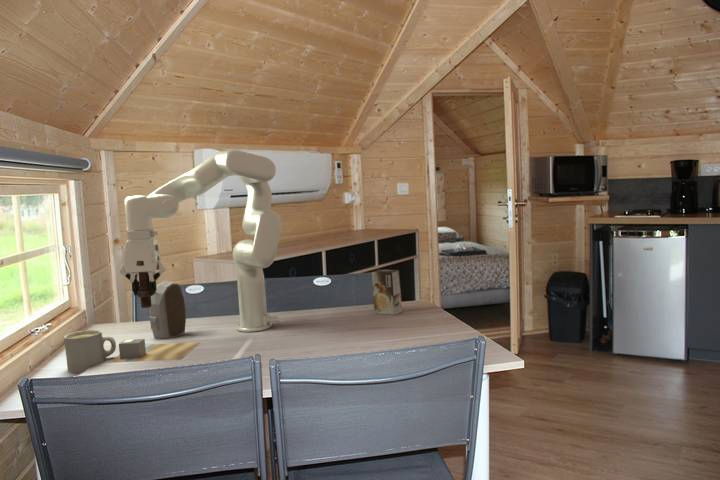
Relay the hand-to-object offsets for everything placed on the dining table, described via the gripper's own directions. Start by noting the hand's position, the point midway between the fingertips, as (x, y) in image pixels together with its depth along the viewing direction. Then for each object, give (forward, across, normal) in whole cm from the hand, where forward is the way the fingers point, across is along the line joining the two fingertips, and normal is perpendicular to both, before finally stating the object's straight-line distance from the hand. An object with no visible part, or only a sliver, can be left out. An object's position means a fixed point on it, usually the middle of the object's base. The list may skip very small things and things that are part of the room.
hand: (144, 293), depth 183 cm
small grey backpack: (+19, 0, -17) cm, 26 cm away
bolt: (+5, 0, 0) cm, 5 cm away
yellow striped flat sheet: (+19, -4, +5) cm, 20 cm away
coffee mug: (+19, +12, +12) cm, 26 cm away
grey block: (+18, +2, +8) cm, 19 cm away
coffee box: (+18, -76, -40) cm, 88 cm away
